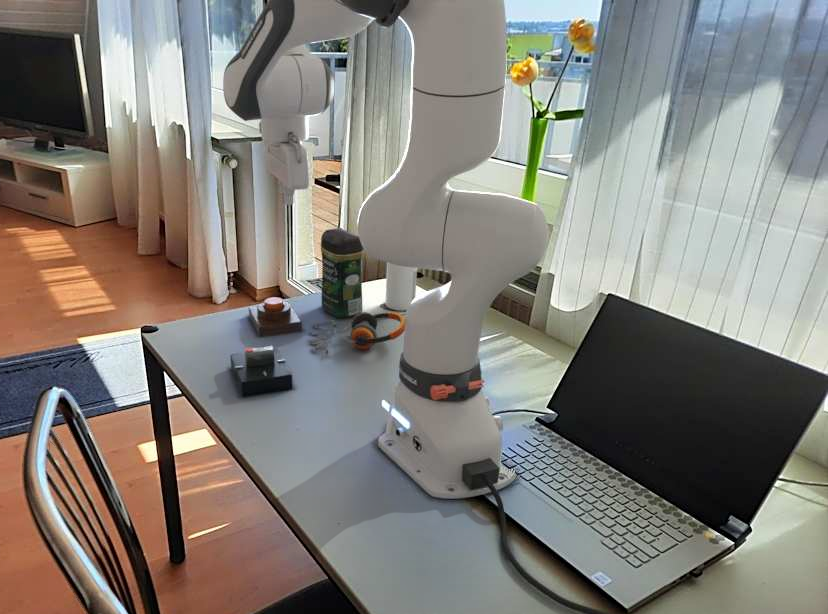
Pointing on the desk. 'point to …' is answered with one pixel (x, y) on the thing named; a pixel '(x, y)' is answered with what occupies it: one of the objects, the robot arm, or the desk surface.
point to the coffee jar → (341, 273)
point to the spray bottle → (400, 286)
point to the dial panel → (261, 375)
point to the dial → (259, 356)
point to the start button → (273, 304)
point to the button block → (274, 320)
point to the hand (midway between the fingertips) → (287, 203)
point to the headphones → (364, 330)
